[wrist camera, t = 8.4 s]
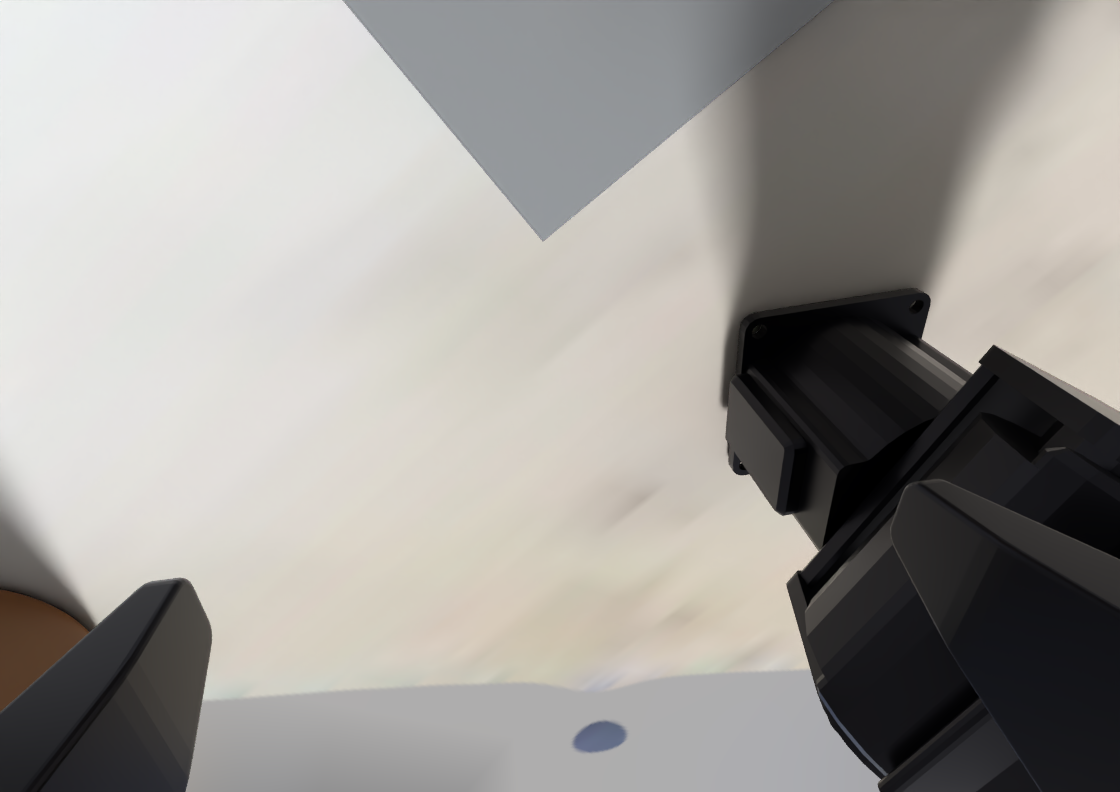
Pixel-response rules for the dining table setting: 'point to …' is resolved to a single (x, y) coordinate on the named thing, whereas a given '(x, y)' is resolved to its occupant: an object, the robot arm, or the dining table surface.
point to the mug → (31, 641)
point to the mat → (573, 80)
